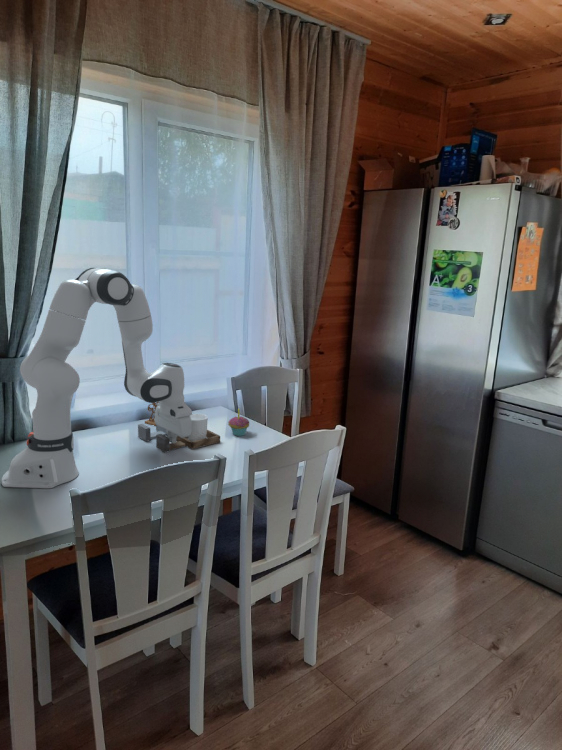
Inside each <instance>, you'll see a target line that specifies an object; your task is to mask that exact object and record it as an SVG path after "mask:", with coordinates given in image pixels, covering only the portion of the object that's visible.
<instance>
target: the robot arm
mask: <svg viewBox="0 0 562 750" xmlns="http://www.w3.org/2000/svg"><path fill="white" fill-rule="evenodd" d="M94 303H99V304H104V305H110V306H113V308H114V311H115V313H116V318H117V319H116V320H117V324H118V327H119V331H120V336H121V343H122V346H121V347H122V352H123V360H124V366H125V375H124V379H123V384H124V389H125V391H126V393H128V395H130V396H133V397H136V398H138V399H139V400H141V401H144V402H146V403H149V404H152V403H156V402H158V401H159V402H158V403H157V407H156V410H155V409H154V410H155V413H154V416H155V419H154V420H155V423H156V425H158V426H160V427H162V428H164V429H166V433H167V436H166V437H168V438H169V443H176V442H177V441H176V438H177V436H179V437H181V438H185V437H189V436H190V435H191V417H190V415H192V413H193V411H192V409H191V408H190V407H189V406H188V405H187V403H186V401H185V395H184V390H185V374H184V373H185V372H184V369H183V367H182V366H181V365H179V364H176V363H171V362H163V363H162V364H161V365H160V366H159V367H158V368H156V370H154V371H152V372H148V371H147V369H146V368H145V366H144V359H143V351H142V344H143V343H145V342H146V341H147V340H148V339H149V338H151V336H152V334H153V319H152V313H151V310H150V306H149V302H148V299H147V297H146V294H145V292H144V289H143V288H142V287H141V286H139V285H137V284H134V283H131V281H130V280H129V279H128V277H127V276H125V274H123V273H122V272H120V271H118V270H113V269H112V270H111V269H110V268H106V267H90V268H87V269H85V270H84V271H82V272H81V273H80V274H79V275H78V276H77V277H76V278H75V279H73V278H72V279H66V280H64V281H62V282H60V283H59V286H58V288H57V290H56V291H55V293H54V296H53V298H52V300H51V303H50V306H49V310H48V311H47V315H46V319H45V321H44V324H43V328H42V330H41V333H40V336H39V337H38V339H37V341H36V343H35V345H34V347H33V348H32V350H31V351H30V353H29V354H28V355H27V356H26V357H25V358H23V360H22V362H21V363H20V366H19V372H20V376H21V377H22V378H23V380H24V382H26V383H25V384H27V385H28V386H30V387H32V388H34V389H35V390H36V392H37V394H36V395H37V397H36V403H35V408H33V410H32V413H31V417H32V428H33V429H32V431H31V432H29V433H28V435H27V438H26V446H27V447H25V448H24V449H22V450H21V451H20V452H19V453H17V454H16V455H15V456H14V457H13V458H12V460H11V461H10V464H9V469H8V470H7V471H6V472H5V473H4V474H3V476H2V477H1V485H2V487H5V488H23V489H27V488H29V489H30V488H31V489H32V488H33V489H53V488H55V487H57V486H59V485H62V484H65V483H69V482H70V481H72V480H75V479H76V478H77V477H78V476H79V469H78V467H77V464H76V460H75V456H74V447H75V445H74V440H75V439H74V434H73V431H72V423H71V422H72V419H71V408H72V403H73V402H72V401H73V398H74V394H75V393H76V392H77V391H78V388H79V387H80V383H81V381H80V375H79V373H78V372H77V371H76V369H75V368H74V367H73V366H72V365H71V364H69V363H68V362H66V360H67V358H68V357H69V355H70V353H71V352H72V351H73V349H75V348H76V347H77V346H78V345H80V341H81V337H82V335H83V331H84V327H85V325H86V321H87V318H88V314H89V311H90V309H91V307H92V306H93V305H94Z"/></svg>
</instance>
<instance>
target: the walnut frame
mask: <svg viewBox="0 0 562 750" xmlns="http://www.w3.org/2000/svg"><path fill="white" fill-rule="evenodd" d="M155 440H156V443H155V444H156V449H158V450H160V451H162V452H163V453H168V452H170V451H171V450H175V449H179V448H183V447H184V448H185V447H187V448H189V449H190V450H193V449H198V448H202V447H206V446H209V445H214V444H218V443H220V442H221V435H220V434H217V433H215V432H213V431H211V430H209V429H207V435H206V438H205V439H201V440H197V441H193V442H192V441H190V440H188V437H185V438H181V437H179V436H177V438H176V443H171V442H169V438H168V436H164V435H162V434H158V435H156V438H155Z"/></svg>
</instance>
